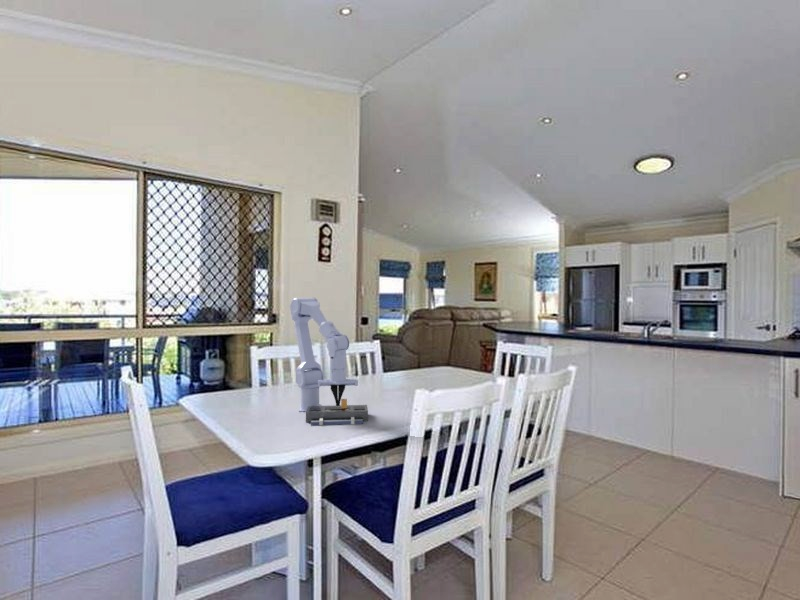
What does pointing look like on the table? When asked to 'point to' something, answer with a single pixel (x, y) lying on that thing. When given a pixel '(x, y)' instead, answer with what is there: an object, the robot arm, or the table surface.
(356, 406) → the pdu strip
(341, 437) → the table surface
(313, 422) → the cords
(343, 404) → the lever
